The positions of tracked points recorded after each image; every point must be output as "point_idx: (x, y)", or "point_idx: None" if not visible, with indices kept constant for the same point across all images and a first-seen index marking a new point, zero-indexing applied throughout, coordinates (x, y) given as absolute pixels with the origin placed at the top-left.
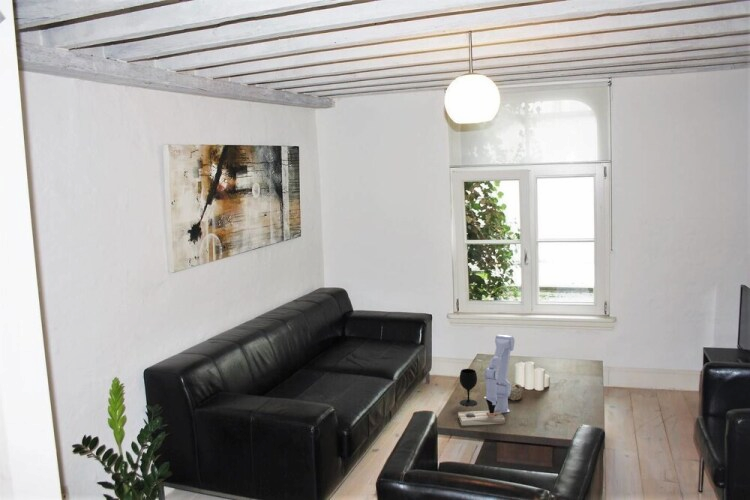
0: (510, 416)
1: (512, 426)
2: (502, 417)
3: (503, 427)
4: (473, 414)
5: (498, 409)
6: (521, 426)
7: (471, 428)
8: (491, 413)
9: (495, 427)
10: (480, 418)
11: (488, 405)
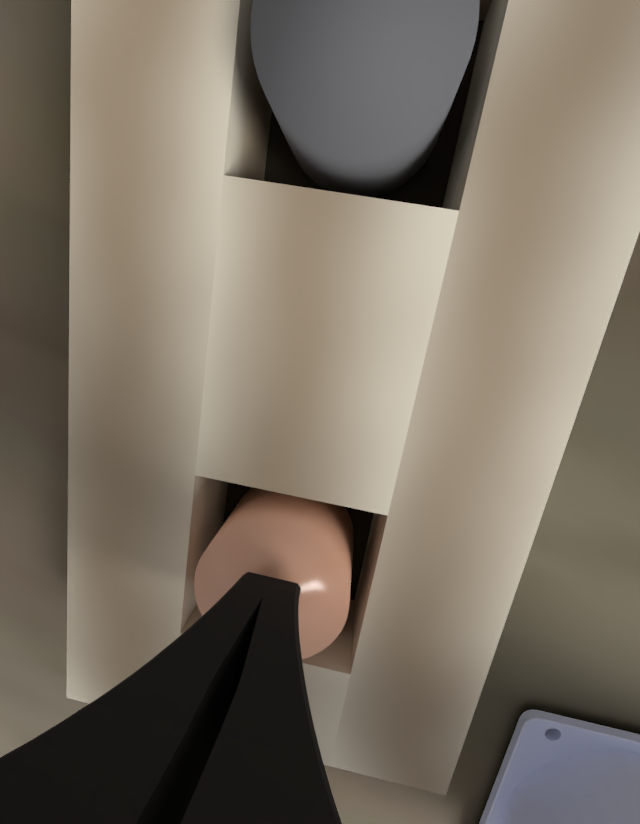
0: (334, 793)
1: (23, 664)
2: (109, 685)
3: (3, 553)
4: (337, 138)
5: (567, 795)
6: (13, 746)
7: (7, 12)
8: None
9: (12, 453)
10: (129, 270)
11: (85, 746)
